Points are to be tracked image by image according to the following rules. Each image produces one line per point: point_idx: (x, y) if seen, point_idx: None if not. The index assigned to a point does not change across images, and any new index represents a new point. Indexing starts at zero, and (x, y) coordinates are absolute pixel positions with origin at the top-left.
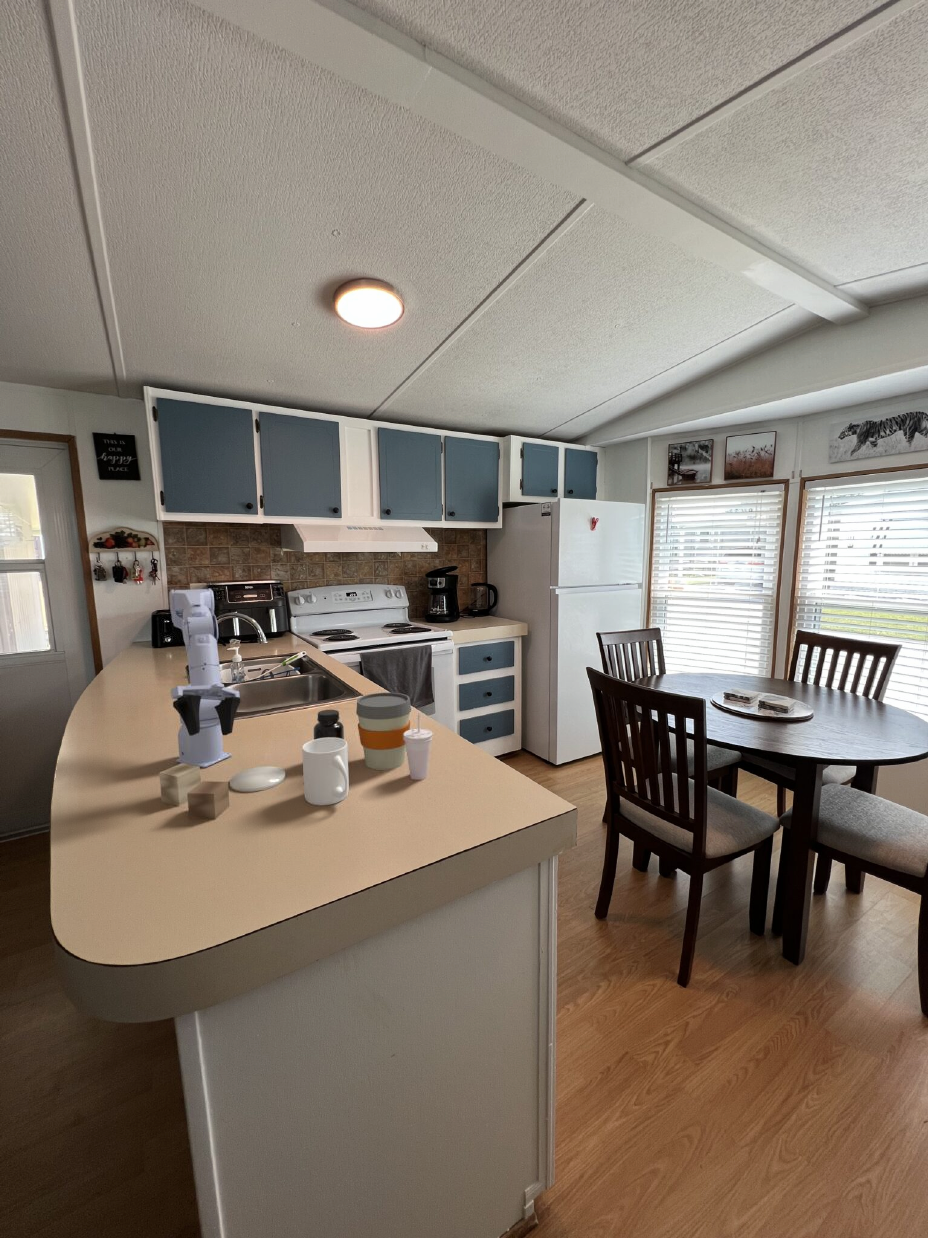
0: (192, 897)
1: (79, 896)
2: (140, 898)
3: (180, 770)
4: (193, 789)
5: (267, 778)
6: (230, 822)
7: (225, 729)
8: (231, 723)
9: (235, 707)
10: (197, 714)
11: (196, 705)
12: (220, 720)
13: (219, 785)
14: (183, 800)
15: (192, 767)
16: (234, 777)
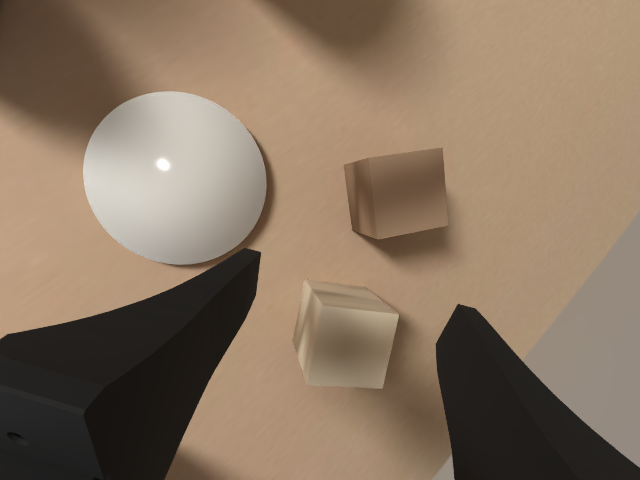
0: (618, 24)
1: (619, 209)
2: (621, 111)
3: (359, 341)
4: (427, 226)
5: (184, 141)
6: (411, 110)
7: (248, 292)
8: (233, 267)
9: (124, 321)
10: (522, 382)
11: (586, 451)
12: (212, 371)
13: (394, 167)
14: (357, 287)
15: (332, 324)
16: (205, 253)
